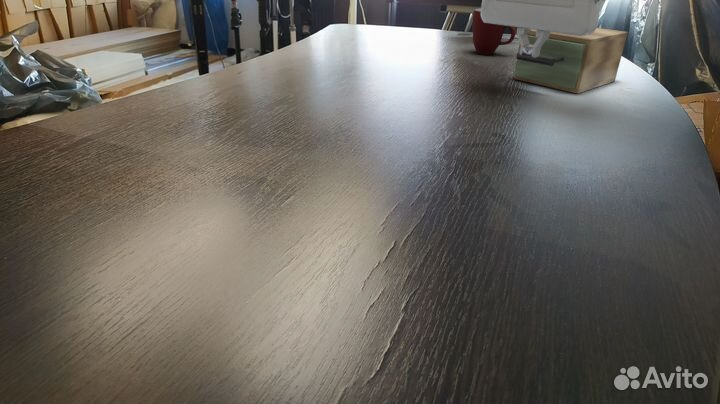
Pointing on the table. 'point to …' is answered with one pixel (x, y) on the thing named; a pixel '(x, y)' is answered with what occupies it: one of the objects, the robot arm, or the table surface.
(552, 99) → the table surface
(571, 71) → the drawer
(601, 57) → the cabinet
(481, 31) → the mug
